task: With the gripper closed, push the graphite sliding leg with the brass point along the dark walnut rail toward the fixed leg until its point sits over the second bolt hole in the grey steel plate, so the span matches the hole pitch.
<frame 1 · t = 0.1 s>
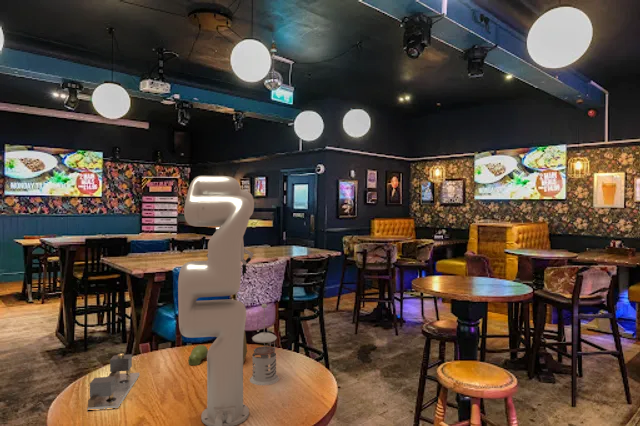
hand: (230, 275, 156), 31 cm above the table, tool pointing down, fingers open, 9 cm apart
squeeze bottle: (236, 363, 152), on the table
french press: (265, 378, 138), on the table
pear: (197, 362, 153), on the table
bolt plate: (115, 391, 128), on the table
sliding leg: (121, 364, 138), point 5 cm above the table, slide at 8.0 cm
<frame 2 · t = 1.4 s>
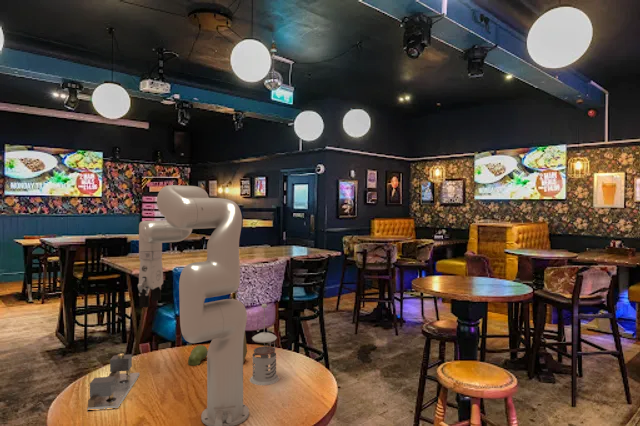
hand: (150, 303, 147), 23 cm above the table, tool pointing down, fingers open, 9 cm apart
nothing on the table moved.
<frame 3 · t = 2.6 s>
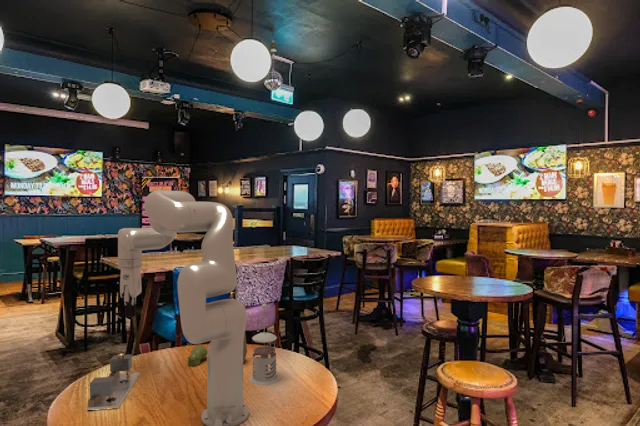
hand: (130, 316, 145), 19 cm above the table, tool pointing down, fingers closed
nothing on the table moved.
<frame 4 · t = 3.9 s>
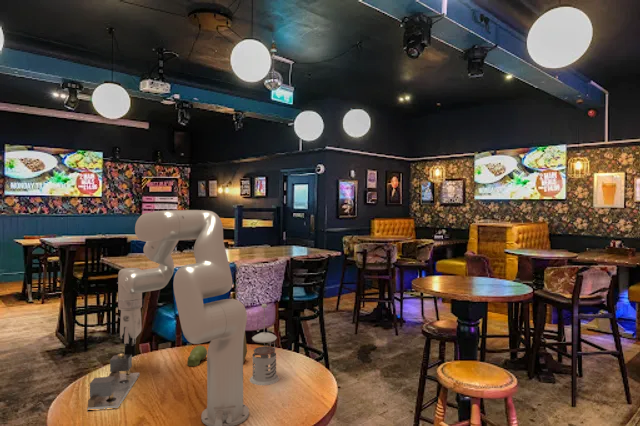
hand: (130, 356, 145), 5 cm above the table, tool pointing down, fingers closed
nothing on the table moved.
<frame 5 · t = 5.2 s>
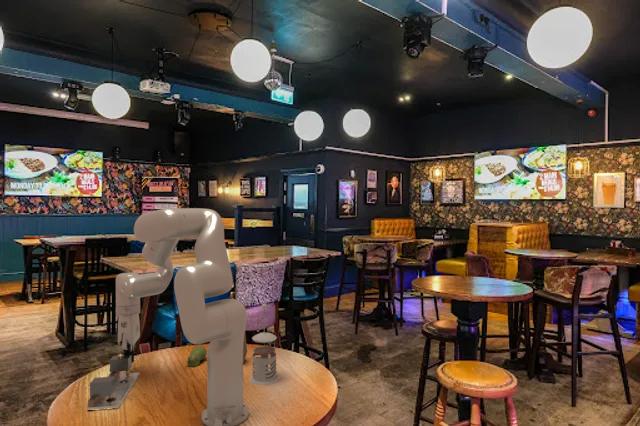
hand: (128, 362, 142), 4 cm above the table, tool pointing down, fingers closed
sliding leg: (120, 364, 137), point 5 cm above the table, slide at 7.7 cm, touching gripper
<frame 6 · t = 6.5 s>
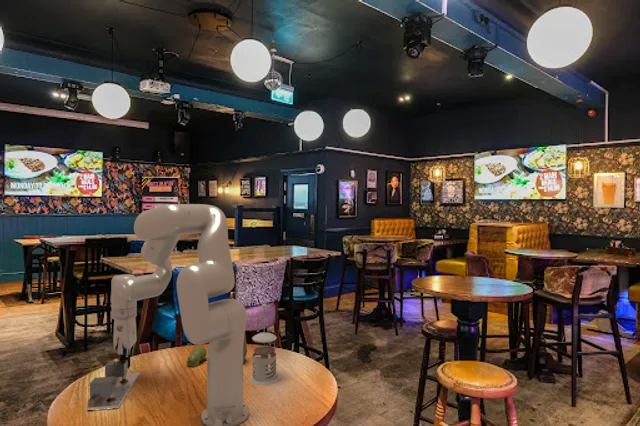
hand: (124, 367, 137), 4 cm above the table, tool pointing down, fingers closed
sliding leg: (116, 370, 133), point 5 cm above the table, slide at 3.0 cm, touching gripper
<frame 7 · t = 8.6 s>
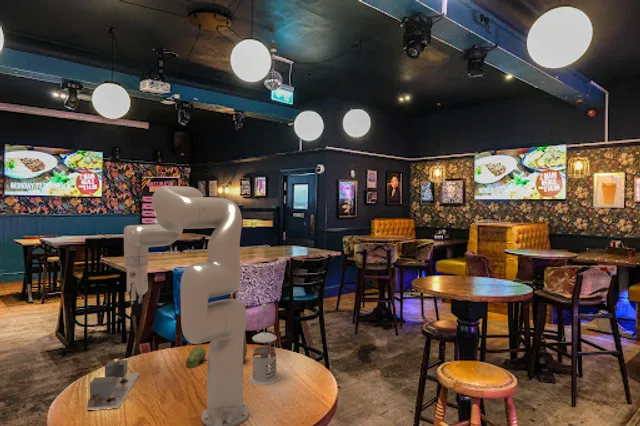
hand: (137, 314, 142), 20 cm above the table, tool pointing down, fingers closed
sliding leg: (116, 370, 132), point 5 cm above the table, slide at 2.8 cm
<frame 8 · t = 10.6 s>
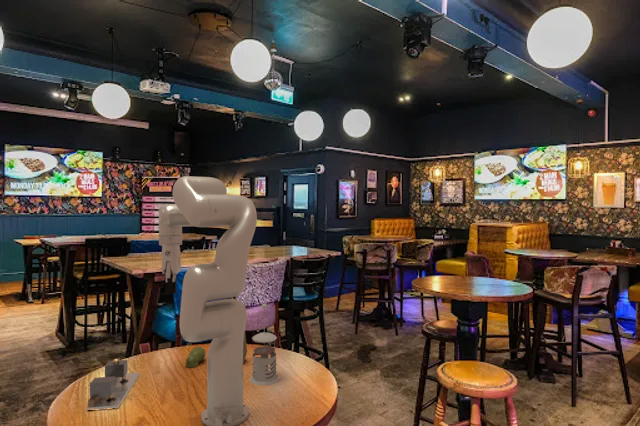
hand: (170, 293, 144), 27 cm above the table, tool pointing down, fingers closed
at the end: sliding leg slide at 2.8 cm; the gripper is holding nothing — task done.
